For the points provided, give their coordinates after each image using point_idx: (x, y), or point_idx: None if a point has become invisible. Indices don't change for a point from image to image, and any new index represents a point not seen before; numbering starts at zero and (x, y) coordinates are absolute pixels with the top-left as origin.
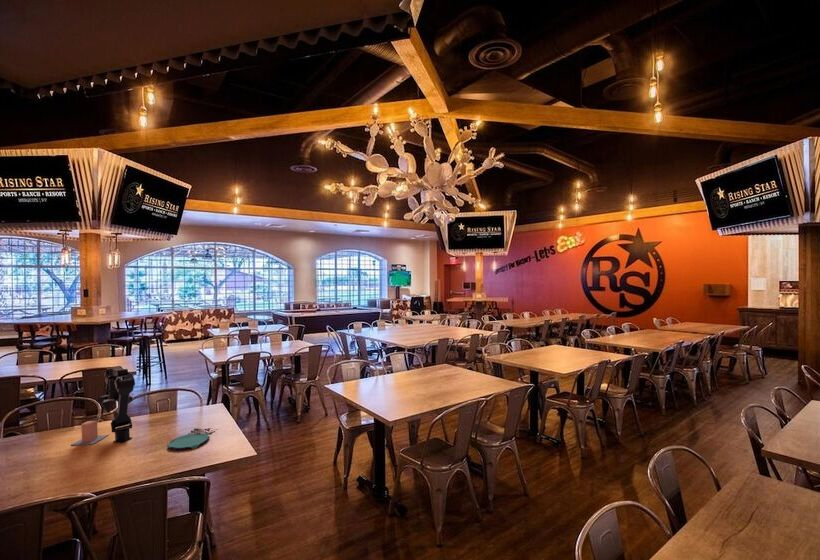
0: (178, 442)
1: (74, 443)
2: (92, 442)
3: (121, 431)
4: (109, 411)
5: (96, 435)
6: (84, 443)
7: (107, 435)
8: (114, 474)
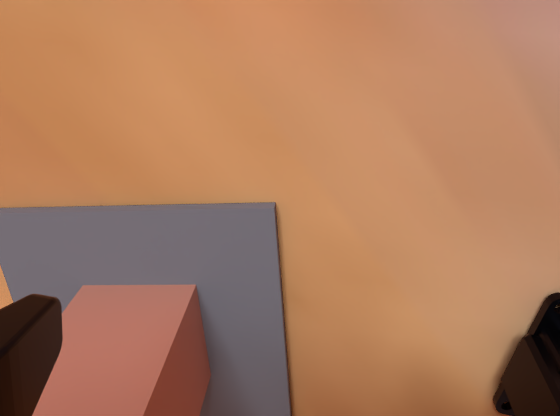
0: None
1: None
2: (252, 402)
3: None
4: (37, 335)
5: (189, 328)
6: None
7: (274, 223)
8: None
